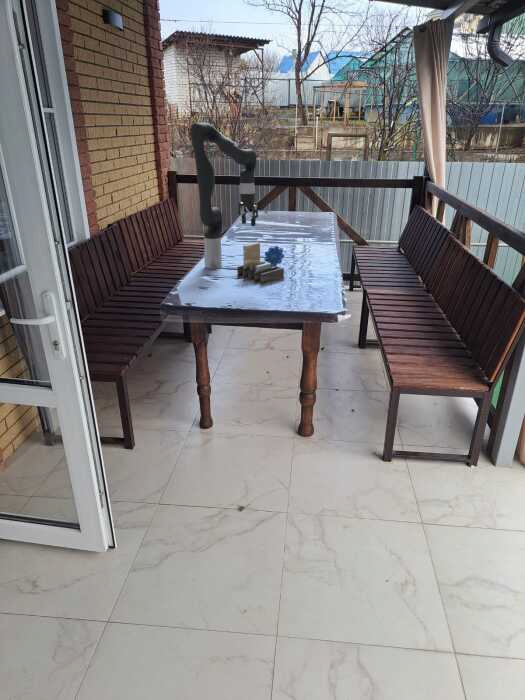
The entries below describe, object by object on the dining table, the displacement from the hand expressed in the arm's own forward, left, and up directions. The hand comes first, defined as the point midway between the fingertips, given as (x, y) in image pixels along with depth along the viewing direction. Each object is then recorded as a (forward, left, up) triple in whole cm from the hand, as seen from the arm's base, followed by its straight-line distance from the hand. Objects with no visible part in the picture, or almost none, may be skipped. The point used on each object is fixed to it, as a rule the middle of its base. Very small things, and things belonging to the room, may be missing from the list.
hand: (248, 224), depth 252 cm
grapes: (-5, +24, -28) cm, 37 cm away
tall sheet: (+1, +1, -26) cm, 26 cm away
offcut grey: (+10, +1, -26) cm, 28 cm away
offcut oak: (+6, +1, -26) cm, 27 cm away
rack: (+8, +1, -28) cm, 29 cm away
